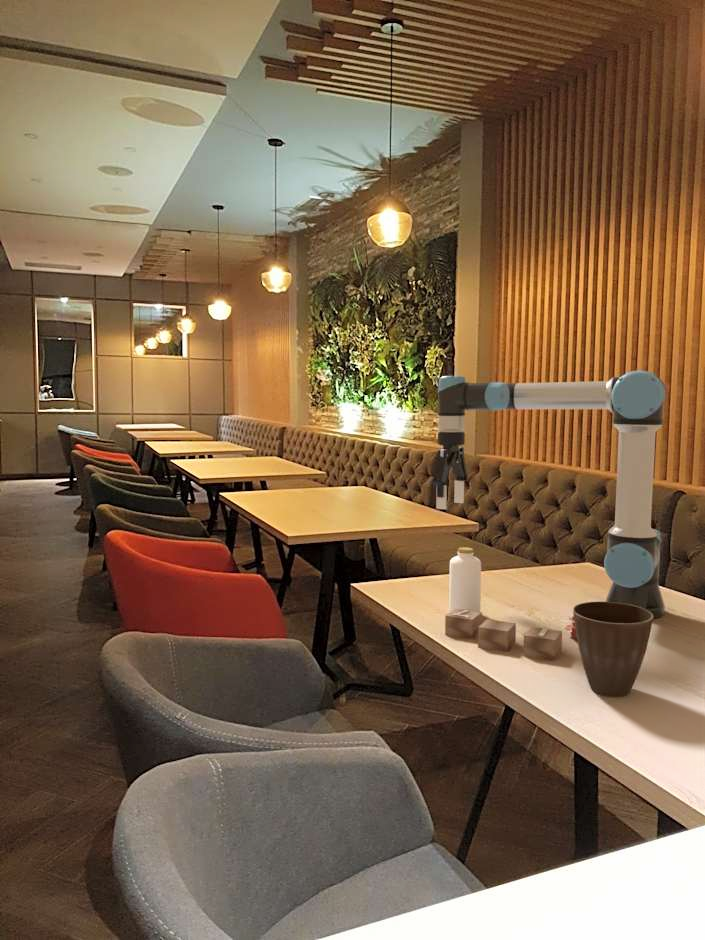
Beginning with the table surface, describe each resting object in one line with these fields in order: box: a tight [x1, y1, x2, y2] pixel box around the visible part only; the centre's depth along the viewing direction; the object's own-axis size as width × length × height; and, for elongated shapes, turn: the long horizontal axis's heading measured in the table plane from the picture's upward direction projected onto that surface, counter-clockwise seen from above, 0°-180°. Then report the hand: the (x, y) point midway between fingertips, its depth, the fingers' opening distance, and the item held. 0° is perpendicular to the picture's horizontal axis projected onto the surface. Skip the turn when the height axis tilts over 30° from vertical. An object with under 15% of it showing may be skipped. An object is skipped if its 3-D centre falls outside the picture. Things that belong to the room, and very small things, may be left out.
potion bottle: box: [448, 546, 482, 613], centre depth 197 cm, size 8×8×18 cm
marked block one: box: [522, 626, 563, 662], centre depth 167 cm, size 7×7×5 cm
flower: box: [564, 613, 577, 639], centre depth 178 cm, size 10×9×8 cm
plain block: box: [477, 618, 517, 653], centre depth 174 cm, size 7×7×5 cm
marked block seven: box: [444, 609, 483, 640], centre depth 183 cm, size 7×7×5 cm
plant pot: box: [572, 601, 654, 698], centre depth 146 cm, size 15×15×16 cm
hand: (450, 506), depth 209 cm, fingers open, 13 cm apart
